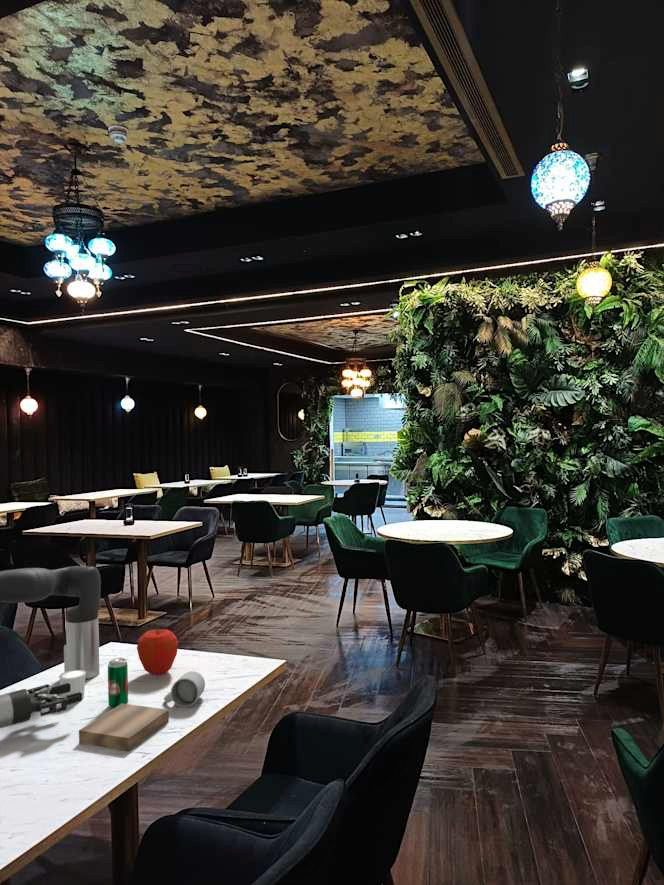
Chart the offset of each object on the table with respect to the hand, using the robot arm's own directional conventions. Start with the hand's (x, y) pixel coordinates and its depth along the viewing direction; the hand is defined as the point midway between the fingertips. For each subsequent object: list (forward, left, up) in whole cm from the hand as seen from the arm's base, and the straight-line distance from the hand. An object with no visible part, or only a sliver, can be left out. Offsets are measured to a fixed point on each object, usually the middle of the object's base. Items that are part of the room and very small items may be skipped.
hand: (75, 691), depth 163 cm
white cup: (-9, +10, -7) cm, 15 cm away
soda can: (+6, +10, -7) cm, 13 cm away
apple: (+3, +33, -7) cm, 34 cm away
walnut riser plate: (+18, -3, -7) cm, 19 cm away
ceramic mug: (+22, +17, -7) cm, 28 cm away
